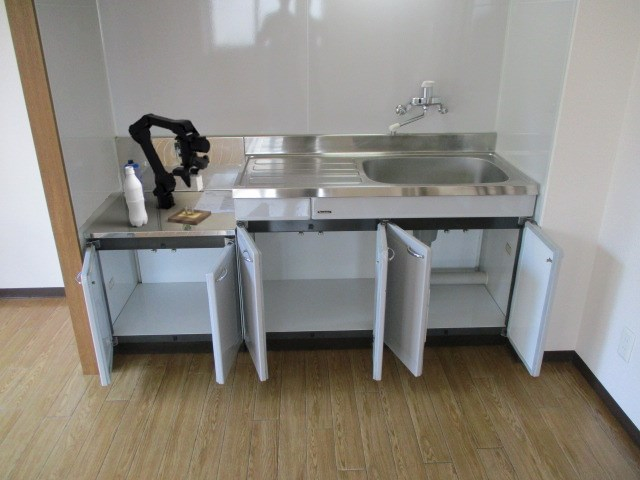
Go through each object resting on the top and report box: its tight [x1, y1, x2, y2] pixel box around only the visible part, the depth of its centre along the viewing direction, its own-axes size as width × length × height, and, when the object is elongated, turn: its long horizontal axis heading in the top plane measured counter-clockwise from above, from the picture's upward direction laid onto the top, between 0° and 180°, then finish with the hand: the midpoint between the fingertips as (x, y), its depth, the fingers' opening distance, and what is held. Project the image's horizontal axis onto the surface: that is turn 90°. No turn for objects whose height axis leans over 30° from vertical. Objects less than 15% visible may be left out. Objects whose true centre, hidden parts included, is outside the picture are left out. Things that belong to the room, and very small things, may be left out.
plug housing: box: [179, 174, 204, 192], centre depth 218 cm, size 8×4×6 cm, turn 73°
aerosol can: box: [122, 159, 148, 203], centre depth 232 cm, size 8×8×20 cm
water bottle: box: [122, 166, 148, 227], centre depth 206 cm, size 7×7×25 cm
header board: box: [167, 205, 212, 226], centre depth 216 cm, size 14×12×5 cm
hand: (192, 185), depth 219 cm, fingers closed on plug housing, 4 cm apart
